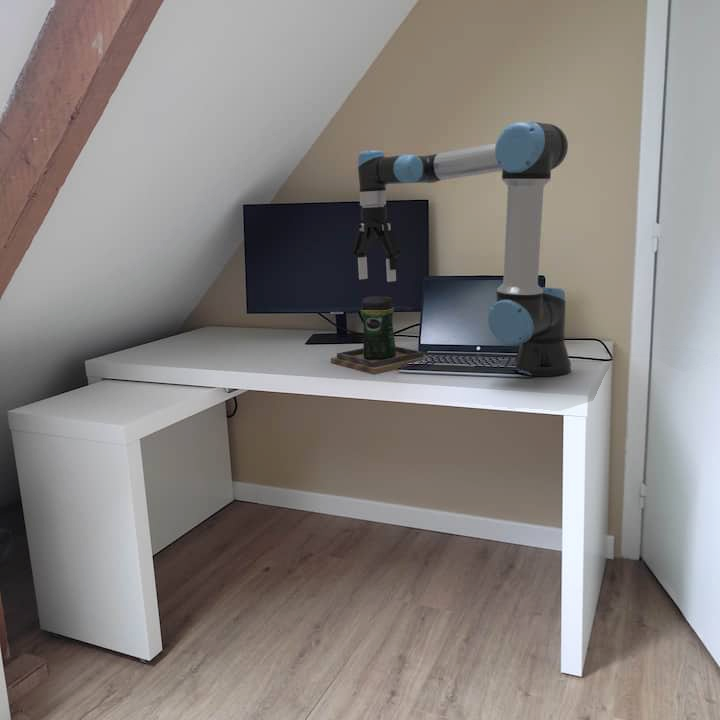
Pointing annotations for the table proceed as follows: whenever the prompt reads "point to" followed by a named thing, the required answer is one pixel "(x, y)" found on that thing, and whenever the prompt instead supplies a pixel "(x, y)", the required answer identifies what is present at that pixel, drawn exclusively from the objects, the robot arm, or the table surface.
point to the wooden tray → (375, 366)
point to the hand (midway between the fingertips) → (377, 280)
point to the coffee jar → (378, 327)
